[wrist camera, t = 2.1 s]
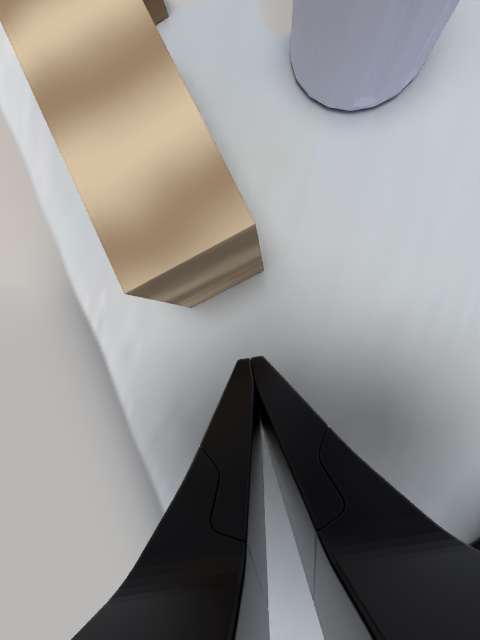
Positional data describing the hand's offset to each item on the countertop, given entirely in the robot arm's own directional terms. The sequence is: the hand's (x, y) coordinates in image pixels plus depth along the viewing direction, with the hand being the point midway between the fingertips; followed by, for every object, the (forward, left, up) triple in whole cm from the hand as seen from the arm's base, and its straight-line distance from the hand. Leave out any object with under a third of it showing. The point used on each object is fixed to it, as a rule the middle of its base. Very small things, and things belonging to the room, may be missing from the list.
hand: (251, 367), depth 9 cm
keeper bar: (+13, -2, -10) cm, 16 cm away
